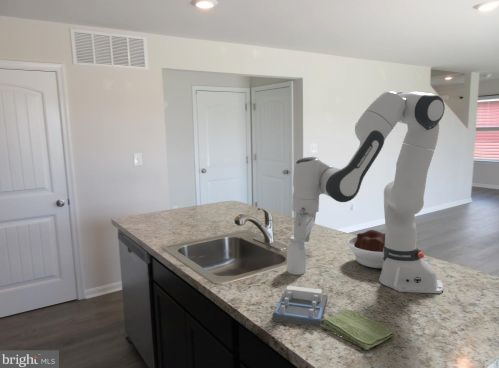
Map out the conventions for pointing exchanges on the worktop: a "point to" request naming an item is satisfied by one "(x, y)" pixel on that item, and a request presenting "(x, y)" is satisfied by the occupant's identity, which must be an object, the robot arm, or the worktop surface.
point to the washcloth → (357, 329)
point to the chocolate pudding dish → (368, 248)
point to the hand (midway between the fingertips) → (304, 245)
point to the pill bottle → (295, 258)
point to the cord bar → (304, 293)
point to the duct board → (300, 310)
